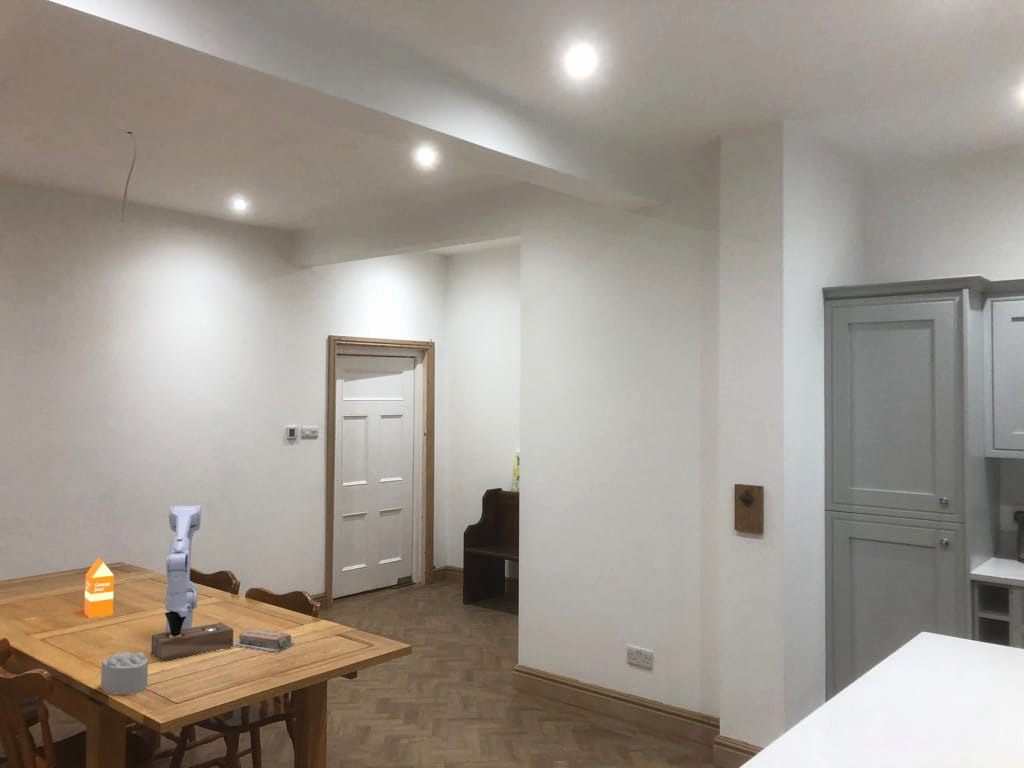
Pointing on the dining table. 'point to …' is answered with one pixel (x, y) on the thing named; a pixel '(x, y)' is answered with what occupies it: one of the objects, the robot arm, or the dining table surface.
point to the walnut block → (191, 642)
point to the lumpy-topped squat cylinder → (124, 673)
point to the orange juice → (99, 590)
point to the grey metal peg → (210, 629)
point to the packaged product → (264, 640)
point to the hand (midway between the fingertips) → (175, 635)
